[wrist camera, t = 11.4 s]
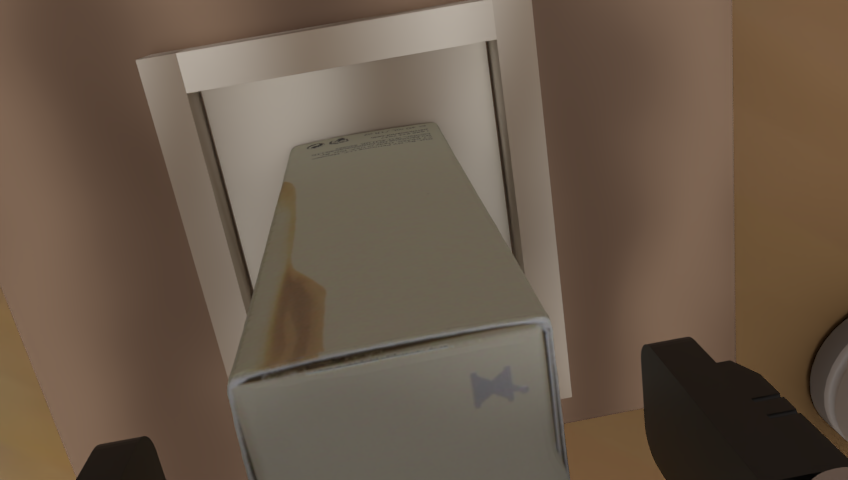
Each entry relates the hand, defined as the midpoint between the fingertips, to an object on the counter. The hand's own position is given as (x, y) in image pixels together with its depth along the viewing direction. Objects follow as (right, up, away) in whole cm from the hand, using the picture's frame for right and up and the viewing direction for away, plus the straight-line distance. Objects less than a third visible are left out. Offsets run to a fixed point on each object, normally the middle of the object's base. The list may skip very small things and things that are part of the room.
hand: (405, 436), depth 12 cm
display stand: (-2, +5, +14) cm, 15 cm away
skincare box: (-1, +3, +10) cm, 10 cm away
